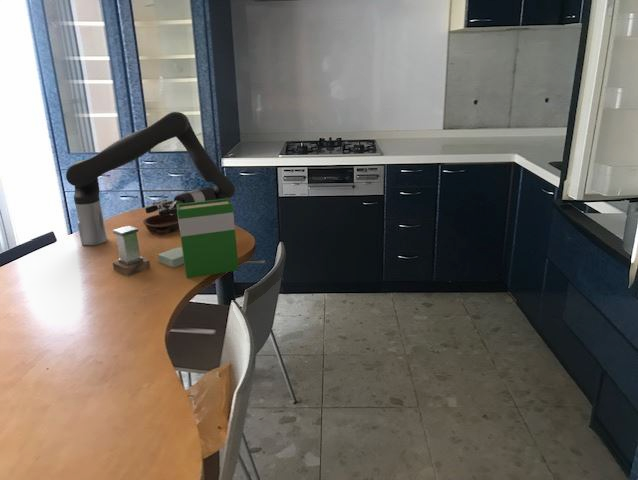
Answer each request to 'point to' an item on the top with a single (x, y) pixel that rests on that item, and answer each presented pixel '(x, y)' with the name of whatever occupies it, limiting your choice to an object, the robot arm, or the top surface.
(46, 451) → the top surface
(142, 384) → the top surface
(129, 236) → the grey square pedestal
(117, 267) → the walnut stand
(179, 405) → the top surface
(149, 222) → the dish
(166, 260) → the green stand
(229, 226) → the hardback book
